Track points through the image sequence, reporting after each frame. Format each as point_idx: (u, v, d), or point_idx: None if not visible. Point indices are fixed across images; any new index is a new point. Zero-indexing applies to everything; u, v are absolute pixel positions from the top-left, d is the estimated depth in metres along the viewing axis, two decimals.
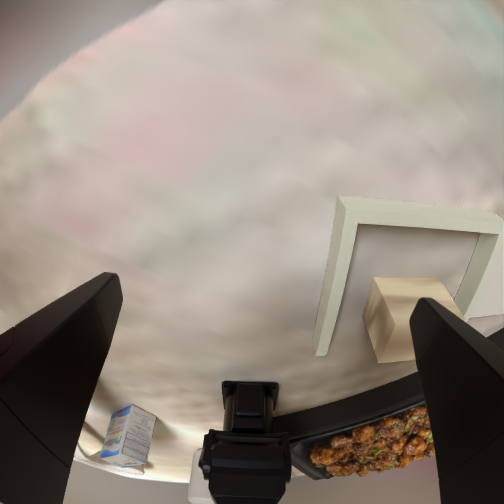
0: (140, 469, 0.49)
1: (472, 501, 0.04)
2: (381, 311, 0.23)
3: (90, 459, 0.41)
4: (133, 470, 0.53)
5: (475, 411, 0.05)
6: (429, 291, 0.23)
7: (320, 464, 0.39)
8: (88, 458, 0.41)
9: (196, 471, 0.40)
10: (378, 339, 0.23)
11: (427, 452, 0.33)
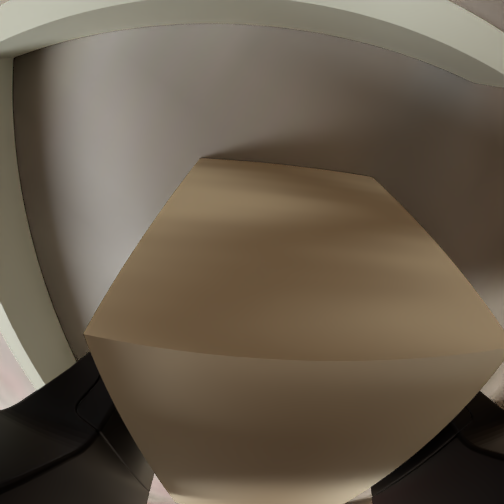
0: None
1: None
2: None
3: None
4: None
5: None
6: None
7: None
8: None
9: None
10: None
11: None
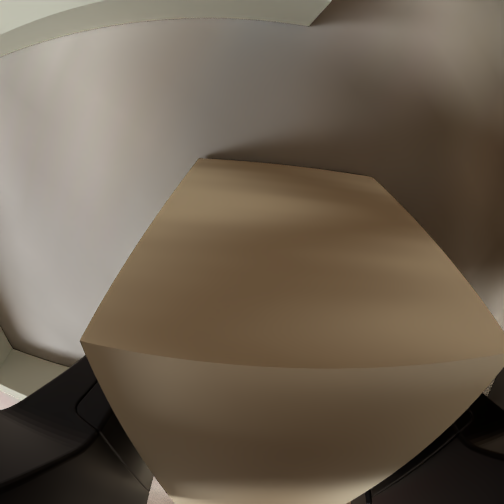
0: None
1: None
2: None
3: None
4: None
5: None
6: None
7: None
8: None
9: None
10: None
11: None
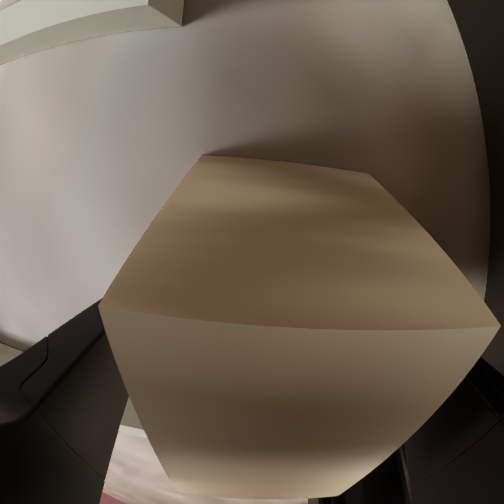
0: None
1: None
2: None
3: None
4: None
5: (446, 418, 0.05)
6: None
7: None
8: None
9: None
10: None
11: None
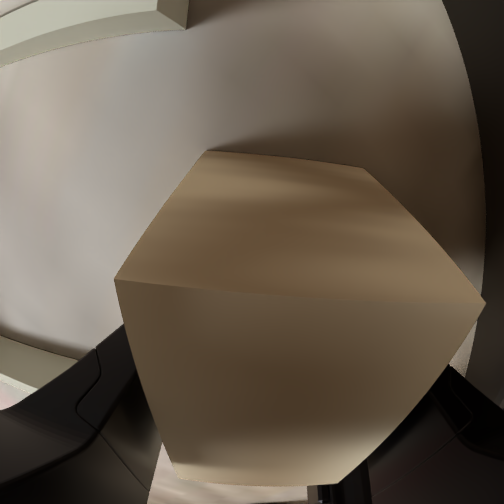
0: None
1: None
2: None
3: None
4: None
5: (403, 427, 0.05)
6: None
7: None
8: None
9: None
10: None
11: None
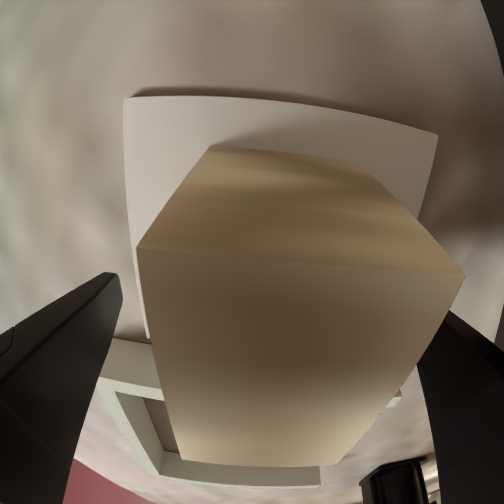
0: None
1: (472, 501, 0.04)
2: None
3: None
4: None
5: (475, 411, 0.05)
6: None
7: None
8: None
9: None
10: None
11: None
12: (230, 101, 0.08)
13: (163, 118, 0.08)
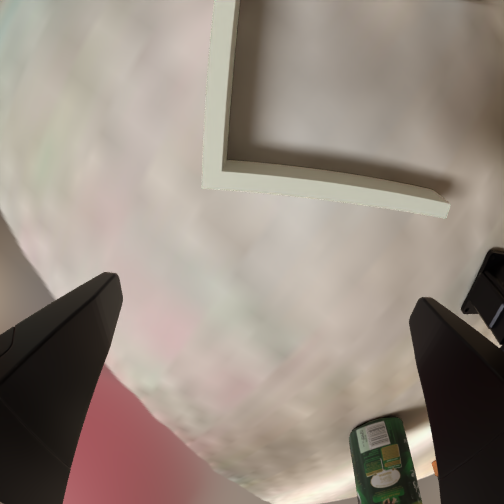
0: None
1: (472, 501, 0.04)
2: None
3: None
4: None
5: (475, 411, 0.05)
6: None
7: None
8: None
9: None
10: None
11: None
12: None
13: None
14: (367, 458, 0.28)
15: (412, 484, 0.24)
